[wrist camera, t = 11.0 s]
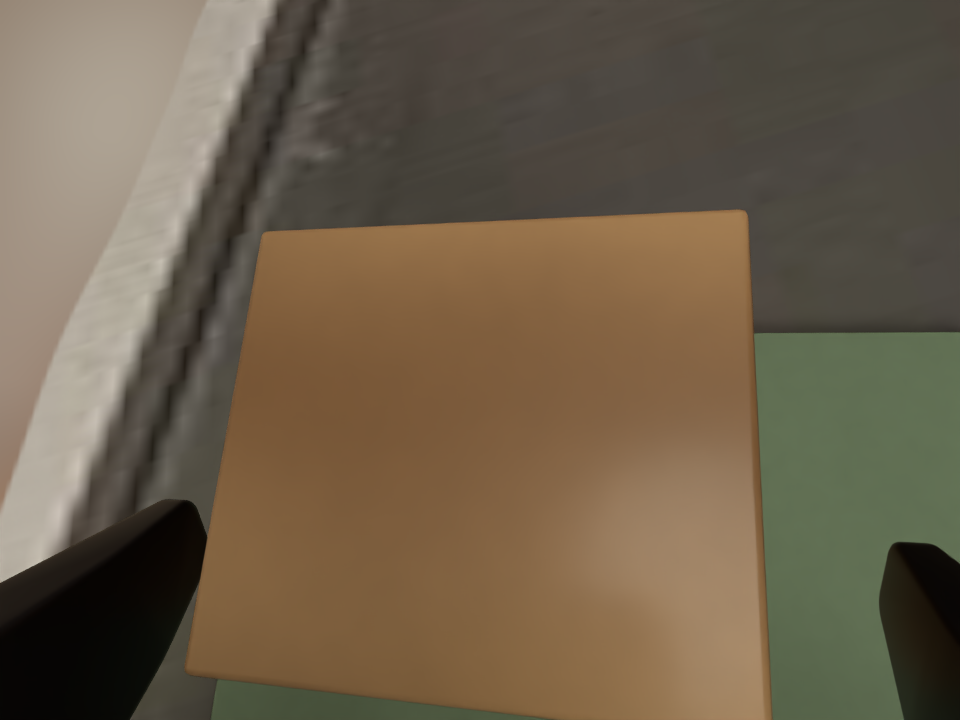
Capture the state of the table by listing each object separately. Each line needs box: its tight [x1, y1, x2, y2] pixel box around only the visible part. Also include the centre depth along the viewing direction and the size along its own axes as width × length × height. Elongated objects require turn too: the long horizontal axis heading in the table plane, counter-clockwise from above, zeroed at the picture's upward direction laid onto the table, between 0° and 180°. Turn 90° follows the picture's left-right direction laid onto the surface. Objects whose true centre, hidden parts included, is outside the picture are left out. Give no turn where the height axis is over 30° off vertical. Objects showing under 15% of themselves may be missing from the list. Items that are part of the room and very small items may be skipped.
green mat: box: [211, 332, 960, 720], centre depth 18 cm, size 15×20×1 cm
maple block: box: [184, 210, 773, 720], centre depth 13 cm, size 5×6×12 cm
